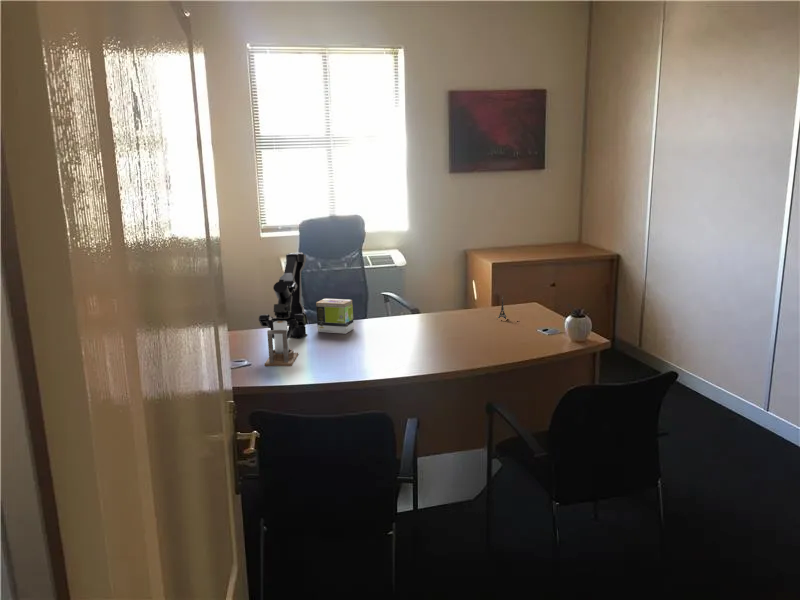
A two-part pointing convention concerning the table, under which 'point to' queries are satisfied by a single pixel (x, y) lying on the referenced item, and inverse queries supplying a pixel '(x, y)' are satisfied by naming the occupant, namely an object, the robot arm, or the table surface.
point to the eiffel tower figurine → (502, 311)
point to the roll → (279, 336)
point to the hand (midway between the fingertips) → (280, 338)
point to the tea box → (334, 315)
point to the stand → (280, 359)
